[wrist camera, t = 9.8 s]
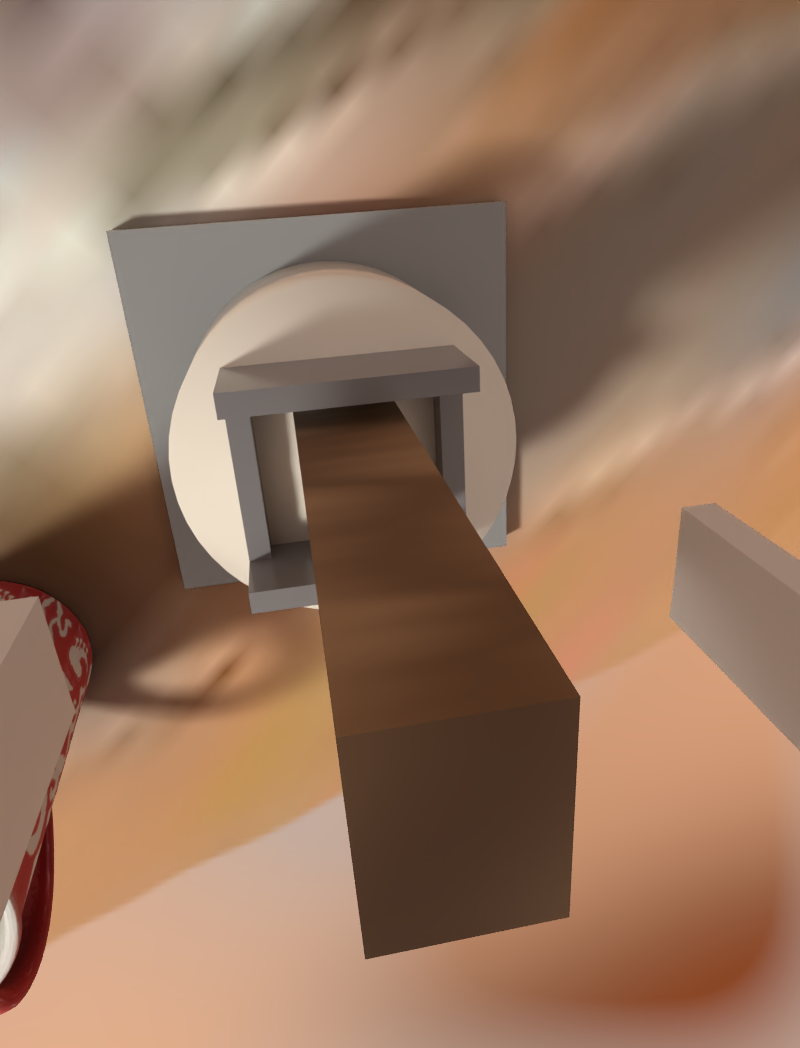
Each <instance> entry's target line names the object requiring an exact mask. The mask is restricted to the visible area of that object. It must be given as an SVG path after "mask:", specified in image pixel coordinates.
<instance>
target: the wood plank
mask: <svg viewBox="0 0 800 1048" xmlns="http://www.w3.org/2000/svg"><path fill="white" fill-rule="evenodd" d="M293 418H294V425H295V433H296V440H297V448H298V455H299V463H300V471H301V478H302V486H303V493H304V501H305V508H306V516H307V524H308V531H309V539H310V546H311V554H312V561H313V569H314V576H315V584H316V592H317V599H318V607H319V614H320V622H321V629H322V637H323V645H324V652H325V660H326V667H327V675H328V682H329V690H330V698H331V705H332V713H333V720H334V728H335V735H336V743H337V750H338V758H339V766H340V773H341V781H342V788H343V796H344V802H345V810H346V818H347V826H348V833H349V841H350V848H351V856H352V863H353V871H354V878H355V885H356V894H357V901H358V909H359V916H360V923H361V931H362V938H363V945H364V954H365V959H369V958H374V957H379V956H384V955H389V954H393V953H398V952H403V951H408V950H413V949H418V948H422V947H427V946H432V945H437V944H442V943H446V942H451V941H455V940H461V939H466V938H471V937H475V936H480V935H485V934H490V933H495V932H499V931H504V930H509V929H514V928H519V927H523V926H528V925H533V924H538V923H543V922H548V921H552V920H557V919H562V918H567V917H569V911H570V891H571V871H572V851H573V831H574V812H575V811H574V810H575V790H576V772H577V752H578V731H579V730H578V729H579V712H580V695H579V694H578V692H577V691H576V689H575V687H574V686H573V684H572V683H571V681H570V680H569V678H568V676H567V675H566V673H565V672H564V670H563V668H562V667H561V665H560V664H559V662H558V660H557V659H556V657H555V656H554V654H553V652H552V651H551V649H550V648H549V646H548V644H547V643H546V641H545V640H544V638H543V637H542V635H541V633H540V632H539V630H538V629H537V627H536V625H535V624H534V622H533V621H532V619H531V617H530V616H529V614H528V613H527V611H526V609H525V608H524V606H523V605H522V603H521V602H520V600H519V598H518V597H517V595H516V594H515V592H514V590H513V589H512V587H511V586H510V584H509V582H508V581H507V579H506V578H505V576H504V574H503V573H502V571H501V570H500V568H499V566H498V565H497V563H496V562H495V560H494V559H493V557H492V555H491V554H490V552H489V551H488V549H487V547H486V546H485V544H484V543H483V541H482V539H481V538H480V536H479V535H478V533H477V531H476V530H475V528H474V527H473V525H472V523H471V522H470V520H469V519H468V517H467V516H466V514H465V512H464V511H463V509H462V508H461V506H460V504H459V503H458V501H457V500H456V498H455V496H454V495H453V493H452V492H451V490H450V488H449V487H448V485H447V484H446V482H445V481H444V479H443V477H442V476H441V474H440V473H439V471H438V469H437V468H436V466H435V465H434V463H433V461H432V460H431V458H430V457H429V455H428V453H427V452H426V450H425V449H424V447H423V445H422V444H421V442H420V441H419V439H418V438H417V436H416V434H415V433H414V431H413V430H412V428H411V426H410V425H409V423H408V422H407V420H406V418H405V417H404V415H403V414H402V412H401V410H400V409H399V407H398V406H397V404H396V403H395V401H390V402H381V403H372V404H363V405H353V406H344V407H335V408H326V409H316V410H307V411H298V412H293Z"/></svg>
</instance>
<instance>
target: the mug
mask: <svg viewBox="0 0 800 1048" xmlns="http://www.w3.org/2000/svg"><path fill="white" fill-rule="evenodd" d="M36 596H39V599H40V603H41V606H42V609H43V612H44V615H45V618H46V621H47V624H48V628H49V631H50V634H51V637H52V640H53V643H54V646H55V650H56V653H57V656H58V659H59V662H60V665H61V668H62V671H63V675H64V678H65V681H66V684H67V687H68V690H69V693H70V696H71V700H72V703H73V706H74V709H75V714H74V716H73V719H72V722H71V725H70V728H69V730H68V733H67V736H66V739H65V742H64V745H63V747H62V750H61V753H60V756H59V759H58V761H57V764H56V767H55V770H54V773H53V776H52V778H51V781H50V784H49V787H48V790H47V793H46V795H45V798H44V801H43V804H42V807H41V809H40V812H39V815H38V818H37V821H36V824H35V826H34V829H33V832H32V835H31V838H30V840H29V843H28V846H27V849H26V852H25V855H24V857H23V860H22V863H21V866H20V869H19V872H18V874H17V877H16V880H15V883H14V886H13V888H12V891H11V894H10V897H9V900H8V903H7V905H6V908H5V911H4V914H3V917H2V919H1V922H0V1014H3V1013H5V1012H7V1011H9V1010H11V1009H12V1008H14V1007H16V1006H17V1005H18V1004H19V1003H20V1001H21V1000H22V999H23V998H24V996H25V995H26V994H27V992H28V990H29V989H30V987H31V985H32V983H33V980H34V979H35V977H36V974H37V972H38V969H39V966H40V963H41V961H42V957H43V953H44V950H45V946H46V941H47V936H48V931H49V926H50V918H51V911H52V900H53V886H54V836H53V816H52V805H53V802H54V798H55V795H56V792H57V789H58V785H59V781H60V778H61V774H62V771H63V767H64V764H65V760H66V757H67V754H68V751H69V747H70V743H71V740H72V737H73V733H74V729H75V725H76V722H77V719H78V715H79V712H80V708H81V706H82V702H83V699H84V696H85V693H86V690H87V686H88V683H89V679H90V675H91V669H92V649H91V644H90V641H89V638H88V635H87V633H86V631H85V629H84V627H83V626H82V624H81V623H80V622H79V620H78V619H77V618H76V617H75V616H74V614H73V613H72V612H71V611H70V610H69V609H68V608H67V607H65V606H64V605H63V604H62V603H61V602H59V601H58V600H56V599H55V598H53V597H51V596H50V595H48V594H46V593H44V592H42V591H40V590H38V589H35V588H32V587H29V586H25V585H22V584H17V583H12V582H6V581H0V601H7V600H14V599H21V598H28V597H36Z"/></svg>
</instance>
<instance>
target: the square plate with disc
mask: <svg viewBox="0 0 800 1048" xmlns="http://www.w3.org/2000/svg"><path fill="white" fill-rule="evenodd" d="M106 232H107V237H108V241H109V246H110V250H111V255H112V259H113V264H114V269H115V273H116V278H117V282H118V287H119V291H120V296H121V301H122V305H123V310H124V314H125V319H126V323H127V328H128V332H129V337H130V342H131V346H132V351H133V355H134V360H135V364H136V369H137V374H138V378H139V383H140V387H141V392H142V396H143V401H144V405H145V410H146V415H147V419H148V424H149V428H150V433H151V437H152V442H153V446H154V451H155V456H156V460H157V465H158V469H159V474H160V478H161V483H162V488H163V492H164V497H165V501H166V506H167V510H168V515H169V519H170V524H171V529H172V533H173V538H174V542H175V547H176V551H177V556H178V561H179V565H180V570H181V574H182V579H183V583H184V588H185V589H189V588H197V587H204V586H212V585H219V584H226V583H234V582H242V583H244V584H246V585H247V586H248V595H249V601H250V607H251V612H252V614H256V613H263V612H270V611H277V610H284V609H291V608H298V607H307V608H314V609H319V607H318V599H317V592H316V584H315V576H314V569H313V561H312V554H311V546H310V539H309V531H308V524H307V516H306V508H305V501H304V493H303V486H302V478H301V471H300V463H299V455H298V448H297V440H296V433H295V425H294V418H293V412H298V411H307V410H316V409H326V408H335V407H344V406H353V405H363V404H372V403H381V402H390V401H395V403H396V404H397V406H398V407H399V409H400V410H401V412H402V414H403V415H404V417H405V418H406V420H407V422H408V423H409V425H410V426H411V428H412V430H413V431H414V433H415V434H416V436H417V438H418V439H419V441H420V442H421V444H422V445H423V447H424V449H425V450H426V452H427V453H428V455H429V457H430V458H431V460H432V461H433V463H434V465H435V466H436V468H437V469H438V471H439V473H440V474H441V476H442V477H443V479H444V481H445V482H446V484H447V485H448V487H449V488H450V490H451V492H452V493H453V495H454V496H455V498H456V500H457V501H458V503H459V504H460V506H461V508H462V509H463V511H464V512H465V514H466V516H467V517H468V519H469V520H470V522H471V523H472V525H473V527H474V528H475V530H476V531H477V533H478V535H479V536H480V538H481V539H482V541H483V543H484V544H485V546H486V547H487V548H492V547H499V546H506V495H507V492H508V489H509V486H510V483H511V479H512V474H513V469H514V464H515V455H516V424H515V416H514V411H513V406H512V401H511V397H510V394H509V392H508V389H507V386H506V201H494V202H481V203H467V204H454V205H441V206H427V207H414V208H400V209H387V210H374V211H360V212H347V213H334V214H320V215H307V216H293V217H280V218H267V219H253V220H240V221H227V222H213V223H200V224H186V225H173V226H160V227H146V228H133V229H119V230H109V231H106Z"/></svg>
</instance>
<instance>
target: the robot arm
mask: <svg viewBox="0 0 800 1048" xmlns="http://www.w3.org/2000/svg"><path fill="white" fill-rule="evenodd" d="M670 618H671V619H672V620H673V621H674V622H675V623H676V624H677V625H678V626H679V627H680V628H681V629H682V630H683V631H684V632H685V633H686V634H687V635H688V636H689V637H690V638H691V639H692V640H693V641H694V642H695V643H696V644H697V646H699V648H700V649H701V650H702V651H703V652H704V653H705V654H706V655H707V656H708V657H709V658H710V659H711V660H712V661H713V662H714V663H715V664H716V665H717V666H718V667H719V668H720V669H721V670H722V671H723V672H724V673H725V674H726V675H727V676H728V677H729V678H730V680H732V682H733V683H734V684H736V686H737V687H738V688H739V689H740V690H741V691H742V692H743V693H744V694H745V695H746V696H747V697H748V698H749V699H750V700H751V701H752V702H753V703H754V704H755V705H756V706H757V707H758V708H759V709H760V710H761V711H762V712H763V714H764V715H765V716H766V717H767V718H768V719H769V720H770V721H771V722H772V723H773V724H774V725H775V726H776V727H777V728H778V729H779V730H780V731H781V732H782V733H783V734H784V735H785V736H786V737H787V738H788V739H789V740H790V741H791V742H792V743H793V744H794V745H795V746H796V747H797V749H798V750H800V560H798V559H797V558H796V557H794V556H793V555H791V554H790V553H788V552H787V551H785V550H784V549H782V548H781V547H779V546H778V545H776V544H775V543H773V542H772V541H770V540H769V539H767V538H766V537H765V536H763V535H762V534H760V533H759V532H757V531H756V530H754V529H753V528H751V527H750V526H748V525H747V524H745V523H744V522H742V521H741V520H739V519H738V518H736V517H735V516H734V515H732V514H731V513H729V512H728V511H726V510H725V509H723V508H722V507H720V506H719V505H717V504H716V503H712V504H705V505H697V506H690V507H683V508H682V512H681V521H680V530H679V539H678V548H677V557H676V566H675V575H674V584H673V593H672V602H671V611H670ZM74 714H75V709H74V706H73V703H72V700H71V696H70V693H69V690H68V687H67V684H66V681H65V678H64V675H63V671H62V668H61V665H60V662H59V659H58V656H57V653H56V650H55V646H54V643H53V640H52V637H51V634H50V631H49V628H48V624H47V621H46V618H45V615H44V612H43V609H42V606H41V603H40V599H39V596H36V597H28V598H21V599H14V600H7V601H0V922H1V919H2V917H3V914H4V911H5V908H6V905H7V903H8V900H9V897H10V894H11V891H12V888H13V886H14V883H15V880H16V877H17V874H18V872H19V869H20V866H21V863H22V860H23V857H24V855H25V852H26V849H27V846H28V843H29V840H30V838H31V835H32V832H33V829H34V826H35V824H36V821H37V818H38V815H39V812H40V809H41V807H42V804H43V801H44V798H45V795H46V793H47V790H48V787H49V784H50V781H51V778H52V776H53V773H54V770H55V767H56V764H57V761H58V759H59V756H60V753H61V750H62V747H63V745H64V742H65V739H66V736H67V733H68V730H69V728H70V725H71V722H72V719H73V716H74Z"/></svg>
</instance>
